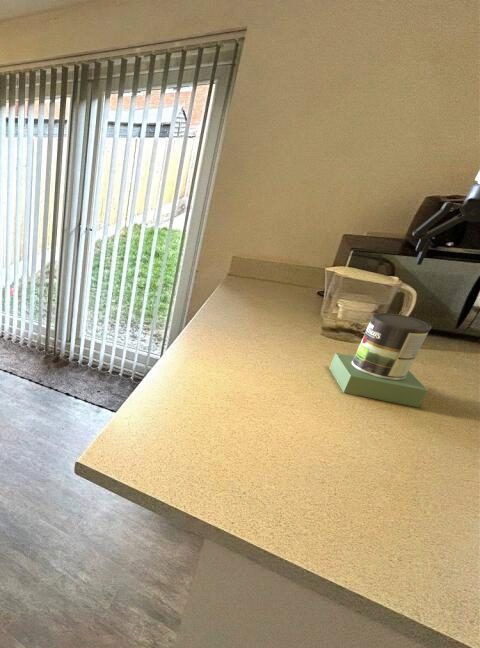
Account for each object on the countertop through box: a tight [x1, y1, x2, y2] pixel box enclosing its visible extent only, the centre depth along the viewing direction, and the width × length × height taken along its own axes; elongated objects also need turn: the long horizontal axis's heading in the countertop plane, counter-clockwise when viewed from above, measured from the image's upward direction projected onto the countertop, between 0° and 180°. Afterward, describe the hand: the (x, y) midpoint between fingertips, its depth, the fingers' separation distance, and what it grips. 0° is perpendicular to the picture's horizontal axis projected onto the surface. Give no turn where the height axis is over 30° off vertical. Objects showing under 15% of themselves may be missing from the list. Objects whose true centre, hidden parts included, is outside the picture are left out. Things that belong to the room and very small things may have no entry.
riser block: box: [328, 352, 428, 408], centre depth 103 cm, size 14×14×5 cm
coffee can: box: [352, 312, 432, 380], centre depth 99 cm, size 10×10×14 cm
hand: (454, 267), depth 104 cm, fingers open, 13 cm apart
